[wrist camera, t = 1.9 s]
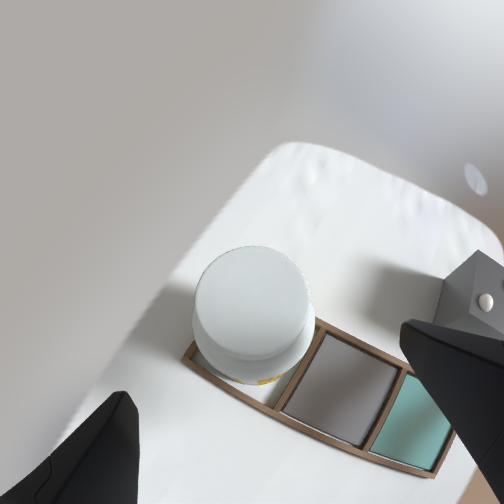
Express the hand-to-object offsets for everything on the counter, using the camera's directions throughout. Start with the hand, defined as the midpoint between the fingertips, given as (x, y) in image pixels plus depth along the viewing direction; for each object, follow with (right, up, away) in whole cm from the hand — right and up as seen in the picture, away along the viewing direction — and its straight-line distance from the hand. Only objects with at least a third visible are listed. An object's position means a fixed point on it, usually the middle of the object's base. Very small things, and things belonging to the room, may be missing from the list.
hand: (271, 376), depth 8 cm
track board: (+5, -5, +8) cm, 11 cm away
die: (+16, -2, +10) cm, 19 cm away
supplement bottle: (0, -2, +10) cm, 11 cm away
